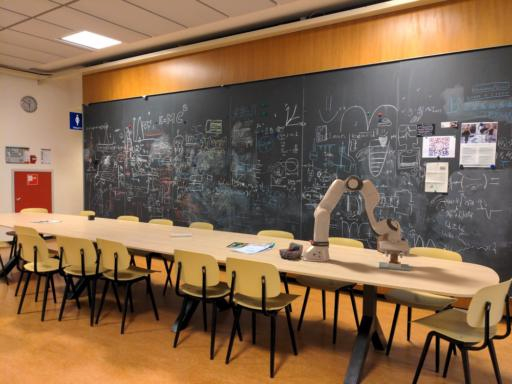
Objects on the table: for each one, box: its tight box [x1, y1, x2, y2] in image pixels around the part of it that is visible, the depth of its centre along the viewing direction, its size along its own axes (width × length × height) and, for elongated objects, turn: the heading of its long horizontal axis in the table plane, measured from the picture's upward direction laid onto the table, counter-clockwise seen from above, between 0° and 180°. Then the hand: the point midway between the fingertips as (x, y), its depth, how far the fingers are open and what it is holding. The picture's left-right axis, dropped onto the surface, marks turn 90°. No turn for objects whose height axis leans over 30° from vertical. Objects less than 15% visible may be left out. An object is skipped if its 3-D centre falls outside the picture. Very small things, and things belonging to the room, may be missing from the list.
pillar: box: [389, 252, 399, 264], centre depth 268 cm, size 5×5×9 cm
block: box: [376, 233, 390, 254], centre depth 321 cm, size 10×10×20 cm
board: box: [378, 260, 411, 272], centre depth 268 cm, size 20×16×3 cm
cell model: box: [278, 241, 304, 260], centre depth 294 cm, size 13×11×20 cm
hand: (394, 256), depth 268 cm, fingers open, 8 cm apart
